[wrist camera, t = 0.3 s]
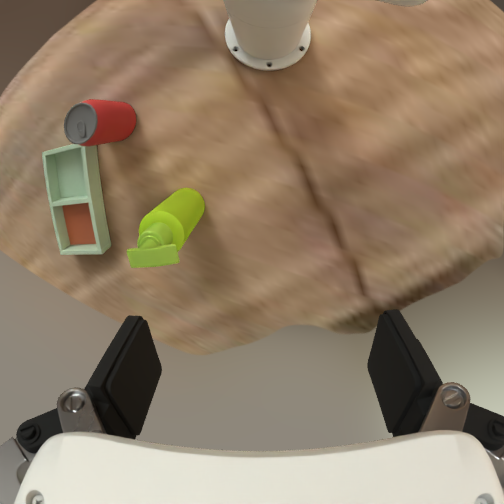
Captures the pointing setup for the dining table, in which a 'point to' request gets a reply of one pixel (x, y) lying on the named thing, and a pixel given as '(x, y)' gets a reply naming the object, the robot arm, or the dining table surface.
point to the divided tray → (76, 199)
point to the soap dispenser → (167, 229)
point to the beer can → (99, 122)
